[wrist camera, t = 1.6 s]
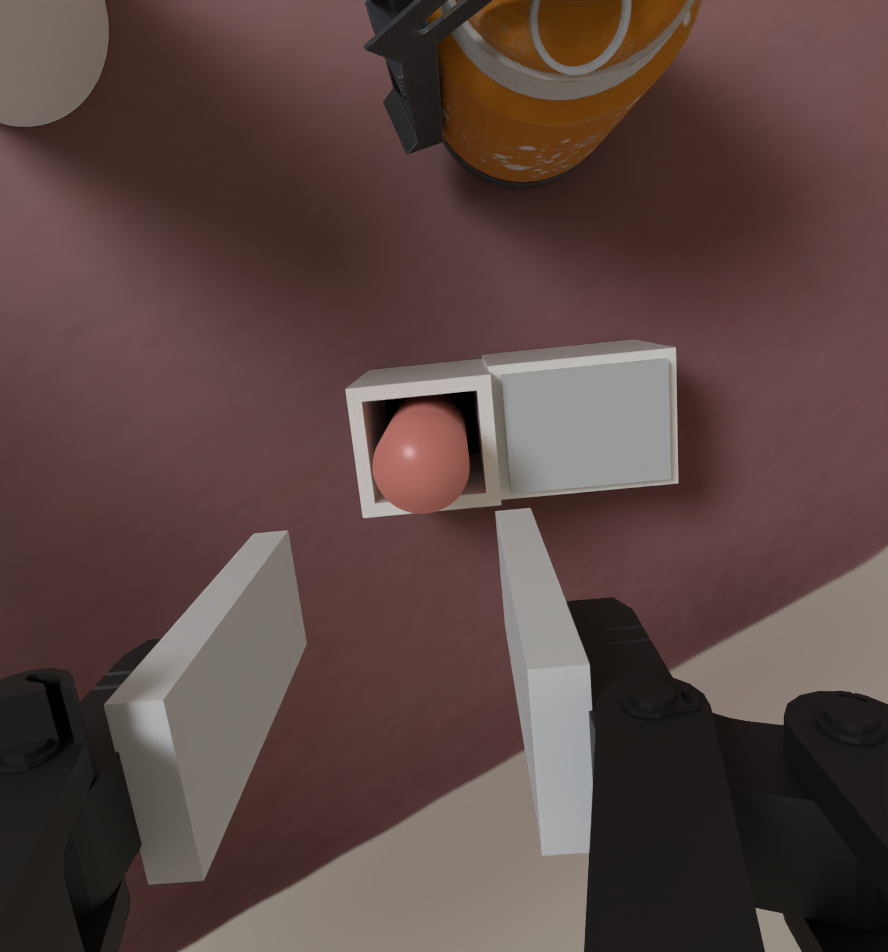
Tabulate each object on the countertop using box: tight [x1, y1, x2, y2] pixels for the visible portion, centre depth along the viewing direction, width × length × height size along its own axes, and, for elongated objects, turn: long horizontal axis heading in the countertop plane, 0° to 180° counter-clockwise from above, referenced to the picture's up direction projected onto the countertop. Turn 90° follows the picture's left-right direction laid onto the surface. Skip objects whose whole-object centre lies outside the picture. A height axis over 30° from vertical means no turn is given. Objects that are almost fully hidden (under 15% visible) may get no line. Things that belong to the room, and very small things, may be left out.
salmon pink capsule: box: [373, 394, 470, 514], centre depth 29 cm, size 4×4×8 cm
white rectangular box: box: [345, 339, 678, 518], centre depth 33 cm, size 14×6×8 cm, turn 96°
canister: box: [364, 0, 702, 188], centre depth 23 cm, size 9×11×20 cm
